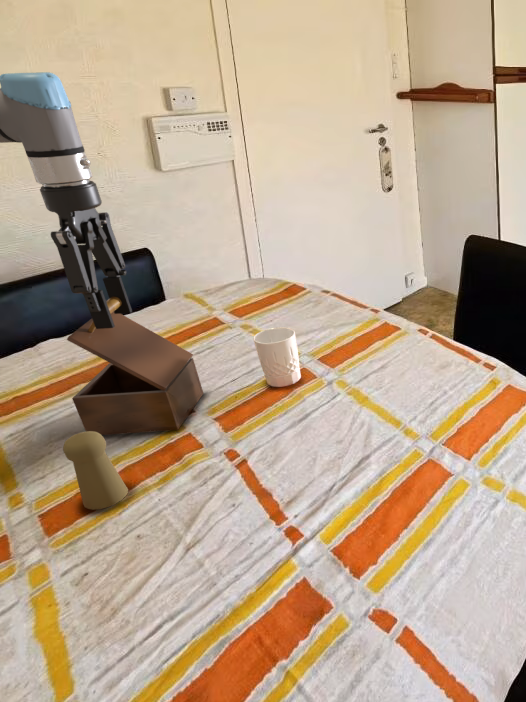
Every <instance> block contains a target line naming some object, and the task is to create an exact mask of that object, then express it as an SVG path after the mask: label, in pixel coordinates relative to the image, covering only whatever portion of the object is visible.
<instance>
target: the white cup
mask: <svg viewBox="0 0 526 702" xmlns="http://www.w3.org/2000/svg"><path fill="white" fill-rule="evenodd" d="M253 343H254V346H255V350H256V353H257V357H258V360H259V363H260V366H261V369H262V372H263V373H264V377H265V381H266V384H267V385H268V386H270V387H275V388H282V387H288V386H291V385H294V384H296V383H297V382H299V381H300V379H301V378H302V374H301V368H300V365H301V364H300V356H299V350H298V349H299V348H298V344H297V336H296V332H295V330H294V329H292V328H290V327H285V326H284V327H283V326H281V327H280V326H279V327H271V328H267V329H264V330H261V331H258V332H257V333H255V335H253Z"/></svg>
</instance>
